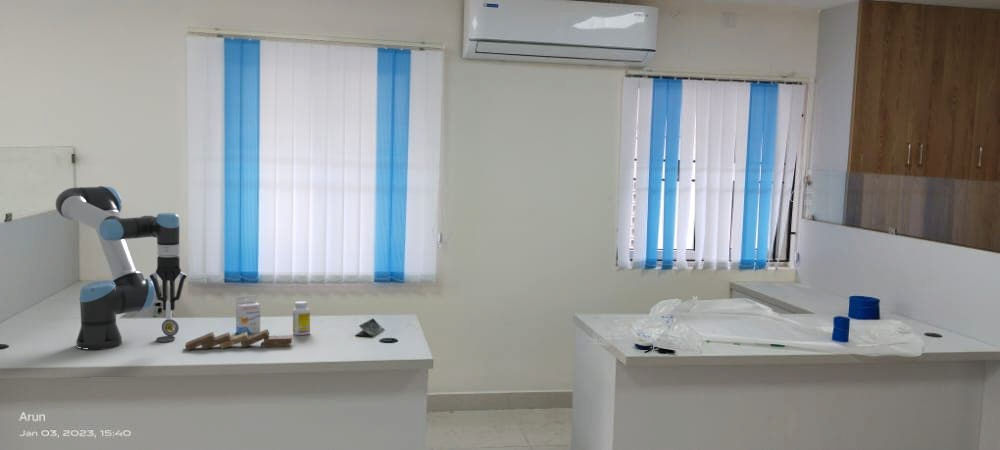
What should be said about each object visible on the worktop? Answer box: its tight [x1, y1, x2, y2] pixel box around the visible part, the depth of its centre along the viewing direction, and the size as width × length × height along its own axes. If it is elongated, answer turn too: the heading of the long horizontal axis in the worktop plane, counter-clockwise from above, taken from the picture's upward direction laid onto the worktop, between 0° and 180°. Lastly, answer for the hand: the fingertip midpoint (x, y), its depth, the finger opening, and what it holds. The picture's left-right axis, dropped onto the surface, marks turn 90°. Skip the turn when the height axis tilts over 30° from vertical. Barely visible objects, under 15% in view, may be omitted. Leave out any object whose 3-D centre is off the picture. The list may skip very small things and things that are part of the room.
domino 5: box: [259, 340, 290, 349], centre depth 297 cm, size 2×5×10 cm
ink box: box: [235, 294, 261, 335], centre depth 317 cm, size 8×5×15 cm, turn 123°
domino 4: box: [263, 334, 293, 345], centre depth 298 cm, size 2×5×10 cm
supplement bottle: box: [292, 300, 311, 336], centre depth 317 cm, size 7×7×13 cm
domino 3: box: [240, 328, 270, 349], centre depth 297 cm, size 2×5×10 cm
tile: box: [219, 332, 250, 350], centre depth 295 cm, size 2×5×10 cm
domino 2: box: [201, 331, 232, 351], centre depth 294 cm, size 2×5×10 cm
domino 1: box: [184, 331, 216, 352], centre depth 292 cm, size 2×5×10 cm
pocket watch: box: [155, 313, 180, 343], centre depth 304 cm, size 8×8×10 cm
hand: (169, 318), depth 291 cm, fingers closed
